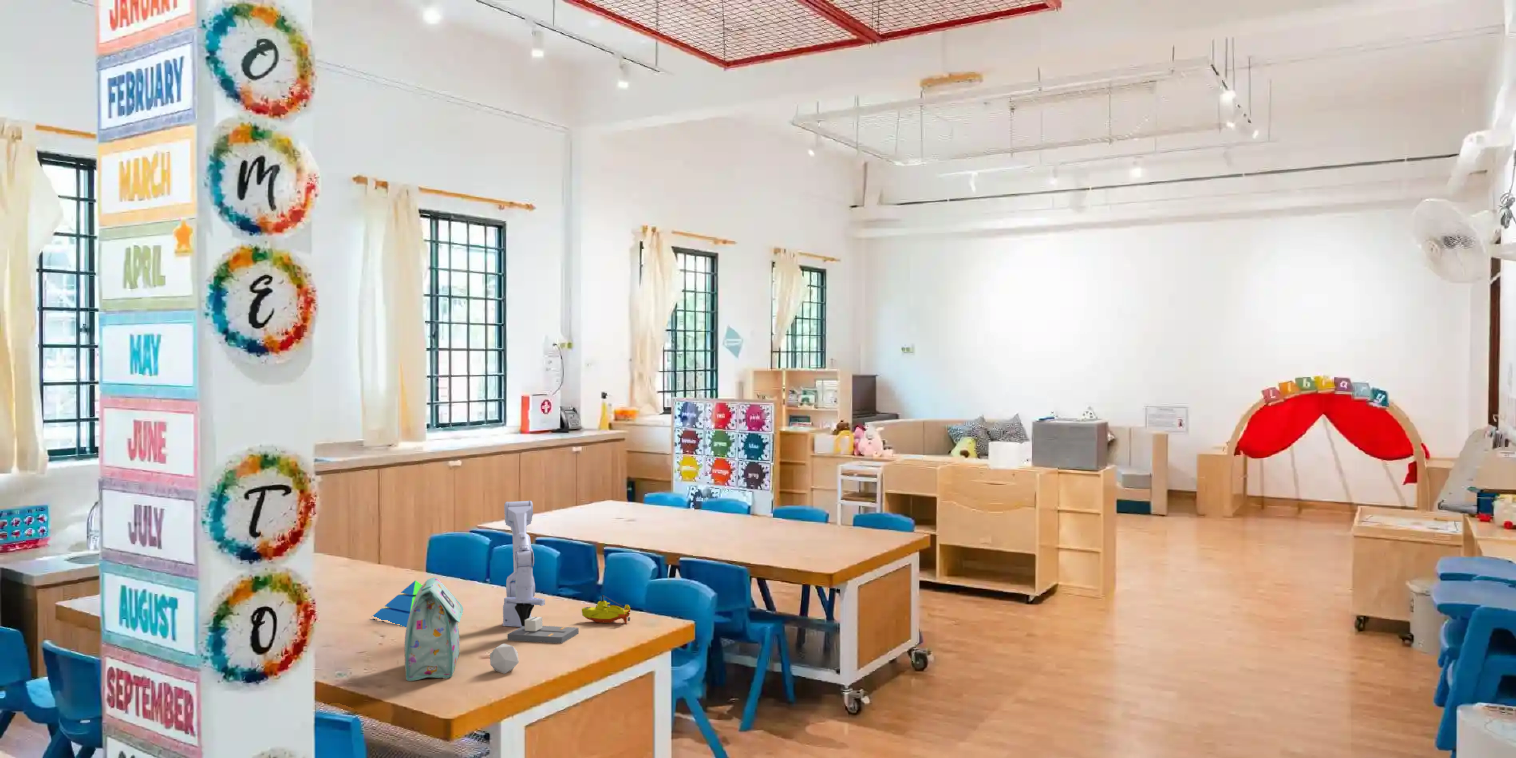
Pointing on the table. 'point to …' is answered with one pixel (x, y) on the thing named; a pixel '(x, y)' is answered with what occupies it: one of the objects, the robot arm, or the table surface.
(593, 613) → the toy boat
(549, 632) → the console board
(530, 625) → the fader tab
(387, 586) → the table surface
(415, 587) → the pyramid toy
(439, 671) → the lunch bag
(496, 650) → the die
